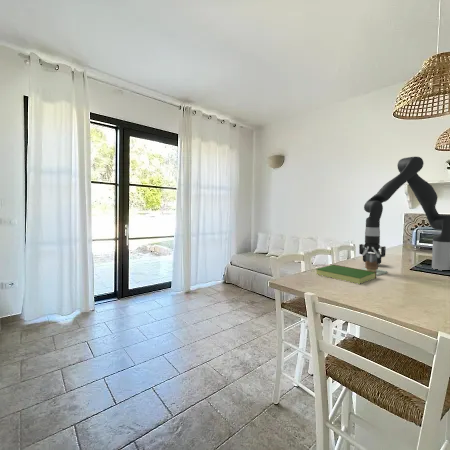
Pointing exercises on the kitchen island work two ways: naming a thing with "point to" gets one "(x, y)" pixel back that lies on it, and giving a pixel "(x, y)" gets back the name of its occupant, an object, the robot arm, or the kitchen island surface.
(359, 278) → the hardcover book
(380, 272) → the post
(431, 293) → the kitchen island surface
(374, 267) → the ring
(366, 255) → the mortar and pestle
